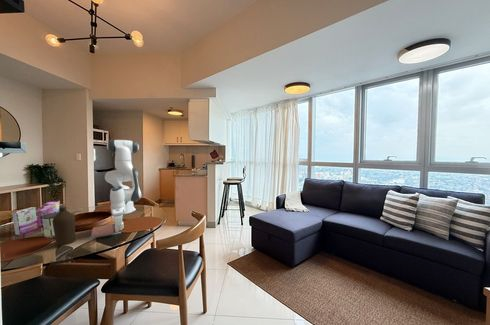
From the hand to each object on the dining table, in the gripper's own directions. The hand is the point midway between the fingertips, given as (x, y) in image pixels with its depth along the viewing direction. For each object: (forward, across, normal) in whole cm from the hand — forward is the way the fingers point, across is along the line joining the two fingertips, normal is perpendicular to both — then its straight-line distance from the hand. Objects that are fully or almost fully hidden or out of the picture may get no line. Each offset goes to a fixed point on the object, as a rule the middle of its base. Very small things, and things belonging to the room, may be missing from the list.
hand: (119, 227), depth 149 cm
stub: (+2, 0, 0) cm, 2 cm away
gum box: (+3, -48, -50) cm, 69 cm away
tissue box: (+3, -16, -40) cm, 43 cm away
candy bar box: (+3, -30, -58) cm, 65 cm away
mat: (+2, 0, -3) cm, 4 cm away
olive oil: (+2, +4, -29) cm, 30 cm away
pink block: (+2, 0, -10) cm, 10 cm away
